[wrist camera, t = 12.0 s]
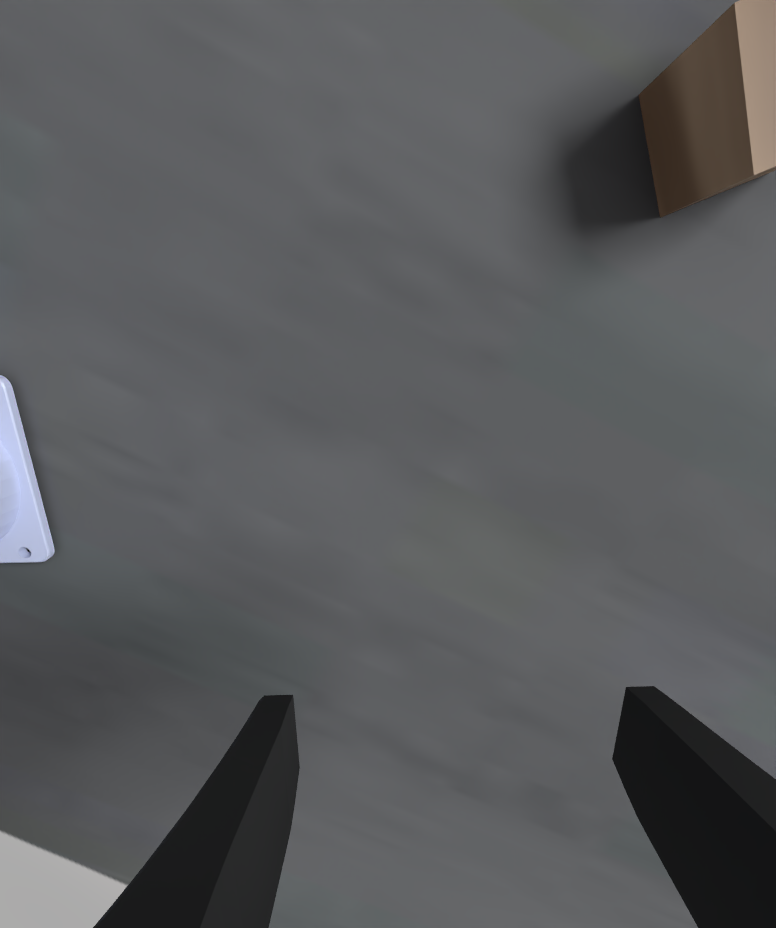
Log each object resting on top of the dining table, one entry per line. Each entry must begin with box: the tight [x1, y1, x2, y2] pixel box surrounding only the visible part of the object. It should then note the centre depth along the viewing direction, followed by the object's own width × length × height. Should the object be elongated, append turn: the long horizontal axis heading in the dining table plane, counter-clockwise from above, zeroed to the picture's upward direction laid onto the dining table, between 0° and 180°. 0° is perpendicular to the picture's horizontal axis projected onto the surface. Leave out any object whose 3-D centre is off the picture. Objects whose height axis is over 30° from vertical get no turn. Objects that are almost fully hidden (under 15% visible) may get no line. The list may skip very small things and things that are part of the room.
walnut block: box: [639, 0, 776, 217], centre depth 13 cm, size 4×4×4 cm
